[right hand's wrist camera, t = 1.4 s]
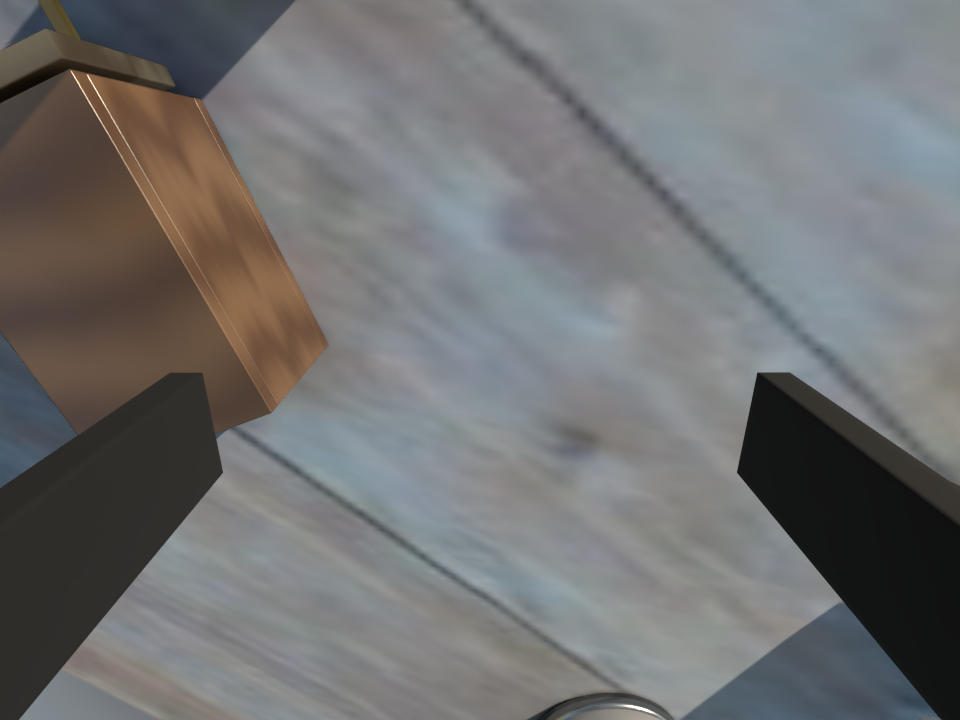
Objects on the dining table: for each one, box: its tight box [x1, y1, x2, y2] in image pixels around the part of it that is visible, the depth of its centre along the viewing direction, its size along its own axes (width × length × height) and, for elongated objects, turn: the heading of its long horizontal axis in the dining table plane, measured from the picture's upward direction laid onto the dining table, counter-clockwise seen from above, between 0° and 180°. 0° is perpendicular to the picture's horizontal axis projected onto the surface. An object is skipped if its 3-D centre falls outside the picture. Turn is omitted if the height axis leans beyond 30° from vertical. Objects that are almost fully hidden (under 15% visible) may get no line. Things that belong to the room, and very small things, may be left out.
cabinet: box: [0, 69, 328, 435], centre depth 30 cm, size 17×10×11 cm, turn 21°
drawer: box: [0, 0, 175, 103], centre depth 28 cm, size 21×9×9 cm, turn 21°
